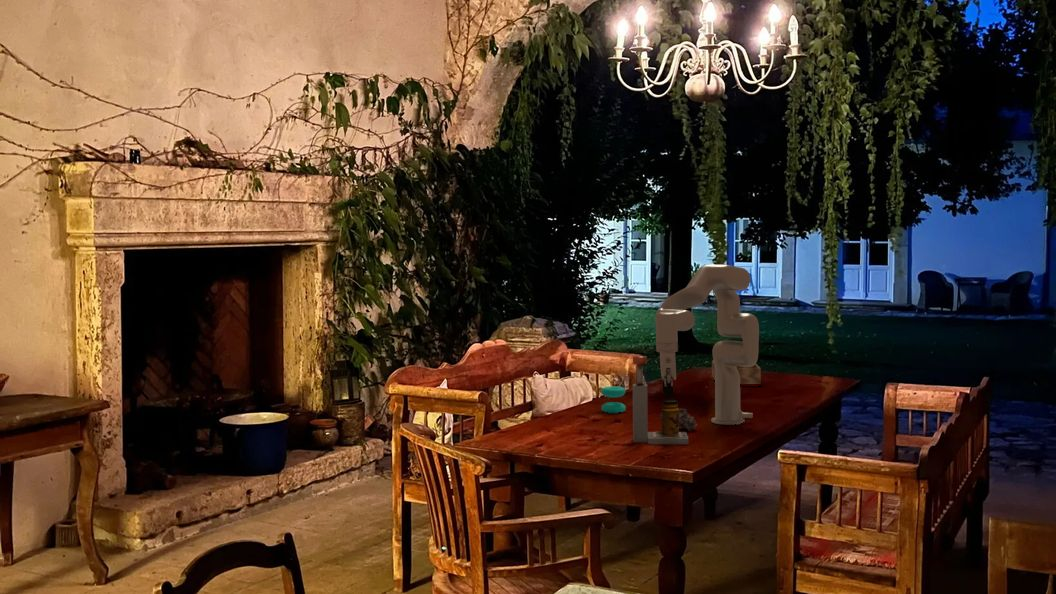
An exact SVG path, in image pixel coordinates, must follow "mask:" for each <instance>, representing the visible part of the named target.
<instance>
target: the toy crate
mask: <svg viewBox="0 0 1056 594" xmlns="http://www.w3.org/2000/svg"><path fill="white" fill-rule="evenodd" d="M736 369H737V370H738V372H739V375H740V384H762V383H761V382H762V379H761V378H762V377H761V375H762V373H761V372H762V371H761V370H762V368H761V367H760V366H759V365H758V364H757V363H756V364H755V365H754V366H752V367H748V368H736ZM712 377H713V378H714V380H715V366H714V360H711V378H712Z"/></svg>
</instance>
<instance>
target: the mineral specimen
mask: <svg viewBox="0 0 1056 594" xmlns="http://www.w3.org/2000/svg"><path fill="white" fill-rule="evenodd" d="M678 409H679V428H682V429H684V428H685V429H686V430H687V431H688V432H692V430H693V429H694V428H696V427H697V426H698V423H697V421H696V420H695V418H694V416H690V413H688V410H687V408H683V407H680V408H678ZM659 417H660V418H661V420H662V413H661V414H660V415H659Z"/></svg>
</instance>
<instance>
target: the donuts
mask: <svg viewBox="0 0 1056 594" xmlns="http://www.w3.org/2000/svg"><path fill="white" fill-rule="evenodd" d="M626 392H627V391H626V389H625V387H623V386H615V385H614V386H612V385H611V386H604V387H603V388H601V391H600V393H601V394H602V395H603V396H604V397H608V398H620V397H623V396H624V395H625V394H626ZM626 409H627V408H626V405H625V404H624V403H622V402H617V401H616V402H615V401H610V402H604V404H602V405H601V411H602V412H603V411H604V412H603V413H606V412H608V413H607V414H619V413H618V412H621V413H623V412H625V411H626Z"/></svg>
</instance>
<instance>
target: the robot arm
mask: <svg viewBox="0 0 1056 594" xmlns="http://www.w3.org/2000/svg"><path fill="white" fill-rule="evenodd" d="M750 284H751V275H750V273H749V271H748V270H747V269H746V268H744V267H739V266H735V265H729V264H704V265H701V266H700V267H699V268H698V269H697V270H696V271H695V273H694V275H693V277H692V278H691V279H690V280H689V282H688V284H686V285H687V286H686V287H684V288H682V289H680V290H679V291H677V292H675V293H674V294H672V295H670V296H668V297H667V298H666V299H665V300H664V301H662V303H661V305H660V306H659V307H658V309H657V311H656V313H655V316H654V323H655V345H656V346H655V347H656V350H655V351H656V352H657V353H659V364H660V366H659V367H660V375H661V379H662V393H663V395H664V396H663V397H664V398H665V399H669V398H670V399H673V398H674V397H675V396H674V385H673V384H674V383H673V380H674V381H676V380H677V362H676V360H677V358H676V352H679V342H678V341H679V340H678V338H679V337H678V331H679V332H686V331H689V330H691V329H693V327H694V325H695V323H696V318H695V315H694V313H693V312H692V311H690V310H687V309H691V308H694V307H697V306H701V305H702V304H704V303H705V302H706V300H707V298H708V297H709V295H710V294H711V292H713V294H715V297H716V300H717V311H716V312H717V318H716V319H717V320H716V321H717V322H716V324H717V333H718V335H720V336H722V337H727V338H734V339H735V338H736V339H737V338H738V339H742V341H740V340H739V341H736V340H720V341H718V342H716V343H715V344H714V345H713V347H712V351H711V353H712V354H711V355H712V359H713V360H712V361H714V366H715V382H714V385H715V386H714V388H715V389H714V397H715V400H714V403H715V404H714V408H715V409H714V410H715V415H714V416H715V417H712V418H711V419H710V421H711V423H713V424H717V425H725V426H726V425H727V426H728V425H729V426H733V425H734V426H735V424H736V425H742V424H744V423H745V418H747V419H752V418H753V417H754V416H753V415H754V414H753V412H743V411H742V409H741V387H740V375H739V372H738V370H737V369H736V367H735V366H741V367H752V366H754V365H755V364H757V362H758V360H759V359H758V358H759V344H760V343H759V341H760V325H759V320H758V318H757V317H756V316H755V315H754V314H752V313H748V312H741V300H740V296H739V294H738V293H737V291H738V292H740V291H745V290H747V289H748V287H749V286H750ZM743 422H744V423H743ZM741 423H742V424H741Z"/></svg>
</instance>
